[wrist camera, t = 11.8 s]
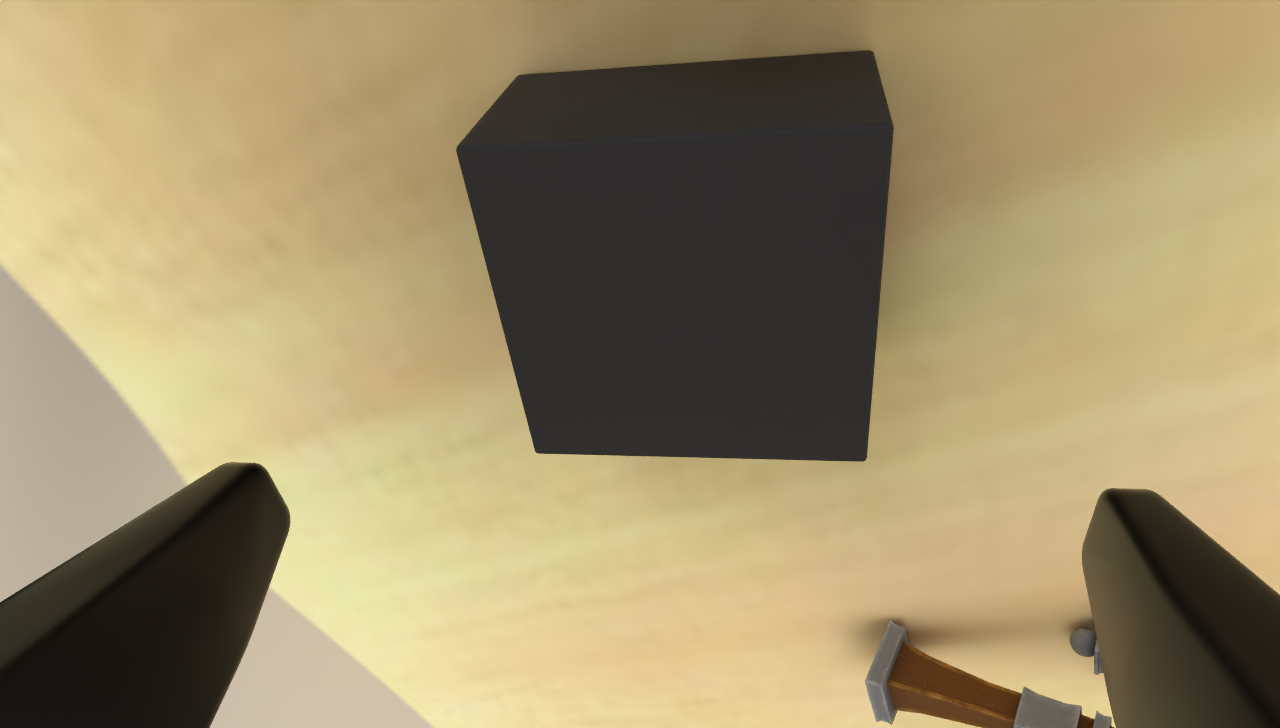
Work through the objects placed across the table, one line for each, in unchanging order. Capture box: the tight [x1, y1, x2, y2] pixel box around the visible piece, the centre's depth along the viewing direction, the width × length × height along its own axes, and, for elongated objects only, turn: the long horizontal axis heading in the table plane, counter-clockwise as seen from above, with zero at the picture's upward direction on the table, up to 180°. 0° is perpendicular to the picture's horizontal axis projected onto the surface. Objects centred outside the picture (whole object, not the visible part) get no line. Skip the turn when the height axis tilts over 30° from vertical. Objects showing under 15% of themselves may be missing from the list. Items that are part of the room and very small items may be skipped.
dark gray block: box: [456, 51, 894, 461], centre depth 13 cm, size 6×6×3 cm
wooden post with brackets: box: [865, 619, 1114, 728], centre depth 18 cm, size 2×8×4 cm, turn 109°
